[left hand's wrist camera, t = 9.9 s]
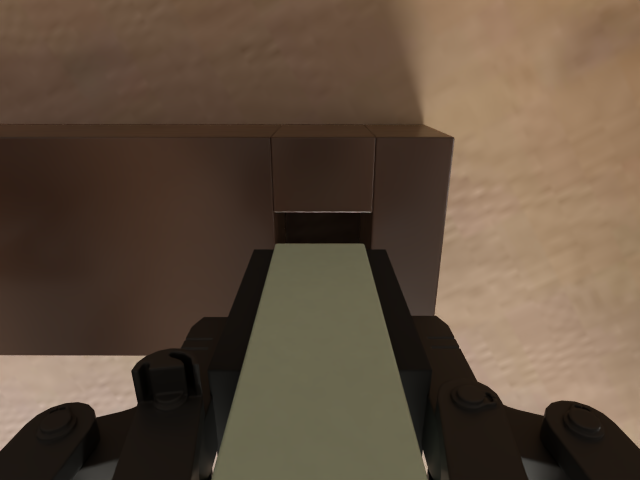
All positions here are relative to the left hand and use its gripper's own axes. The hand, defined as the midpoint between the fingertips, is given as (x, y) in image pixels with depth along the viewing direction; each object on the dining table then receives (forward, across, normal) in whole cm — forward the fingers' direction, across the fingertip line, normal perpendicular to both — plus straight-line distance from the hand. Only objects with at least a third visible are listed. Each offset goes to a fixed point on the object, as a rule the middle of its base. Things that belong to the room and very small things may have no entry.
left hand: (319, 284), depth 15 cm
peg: (0, 0, 0) cm, 0 cm away
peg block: (+8, +8, 0) cm, 11 cm away
